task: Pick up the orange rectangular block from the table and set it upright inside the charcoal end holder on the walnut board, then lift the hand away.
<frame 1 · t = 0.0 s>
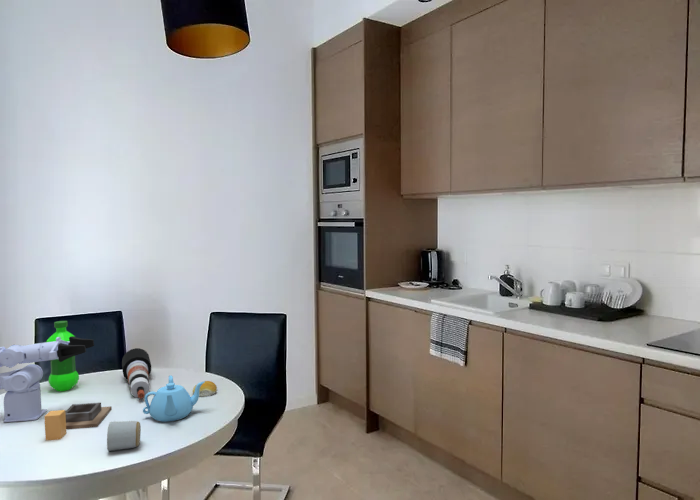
hand: (89, 345, 160), 22 cm above the table, tool horizontal, fingers open, 7 cm apart
teapot: (175, 415, 158), on the table
holder: (82, 419, 156), on the table
plastic bottle: (64, 389, 184), on the table
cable: (138, 388, 185), on the table
bread roll: (205, 393, 178), on the table
ceramic mug: (124, 446, 137), on the table
orange rectangular block: (56, 436, 143), on the table
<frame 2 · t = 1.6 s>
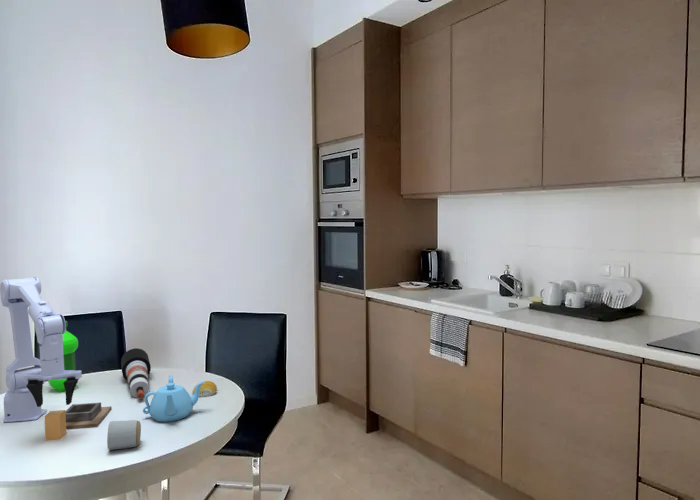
hand: (54, 404, 143), 9 cm above the table, tool pointing down, fingers open, 7 cm apart
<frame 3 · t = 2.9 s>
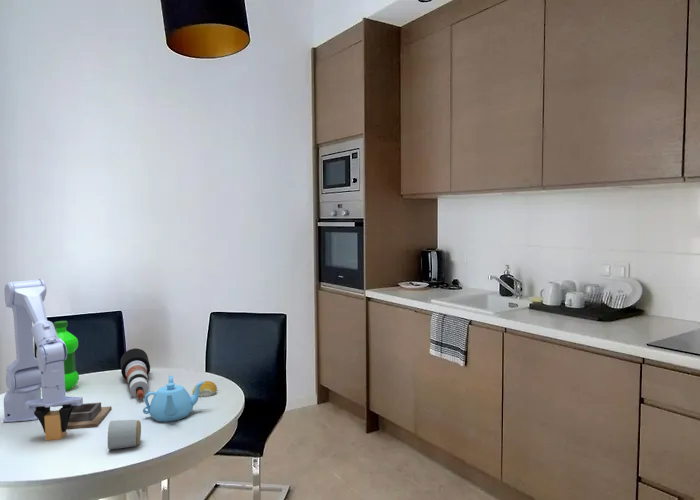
hand: (55, 431, 143), 2 cm above the table, tool pointing down, fingers closed on orange rectangular block, 4 cm apart
orange rectangular block: (56, 436, 143), on the table, touching gripper
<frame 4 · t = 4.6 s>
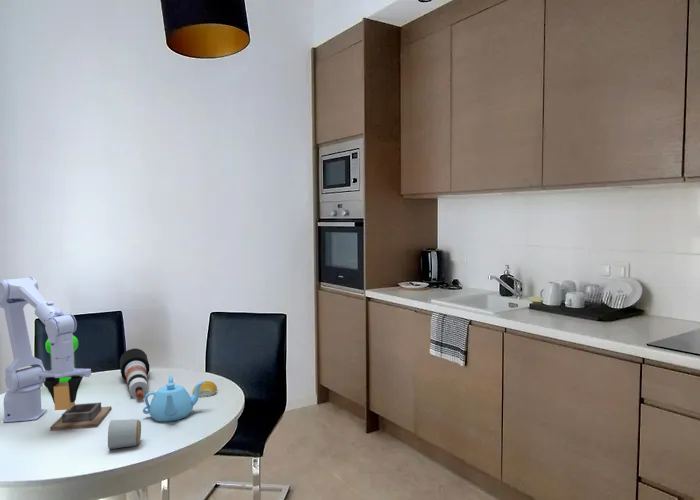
hand: (64, 401, 147), 9 cm above the table, tool pointing down, fingers closed on orange rectangular block, 4 cm apart
orange rectangular block: (65, 407, 147), point 7 cm above the table, touching gripper
when the fingers open (5 cm above the table, at t = 6.2 s): orange rectangular block drops 2 cm, resting on holder.
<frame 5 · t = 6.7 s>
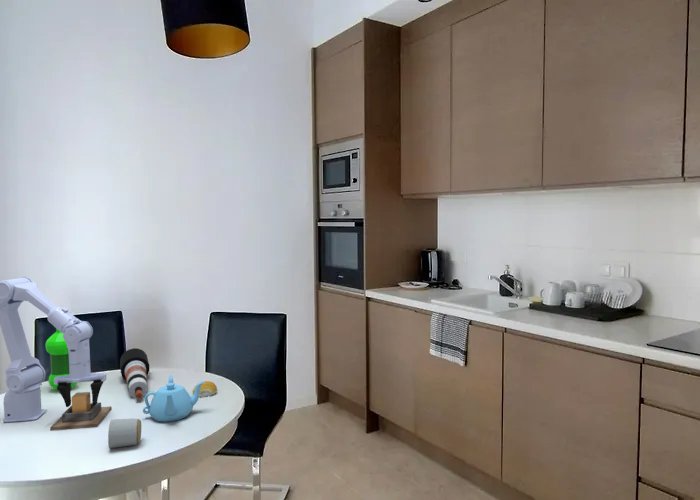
hand: (81, 404, 155), 5 cm above the table, tool pointing down, fingers open, 7 cm apart
orange rectangular block: (82, 416, 155), point 1 cm above the table, touching holder
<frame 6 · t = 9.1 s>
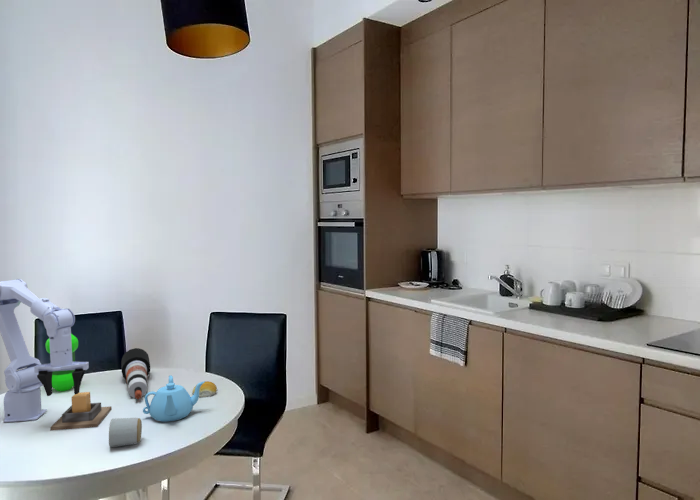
hand: (63, 394, 151), 9 cm above the table, tool pointing down, fingers open, 7 cm apart
at the end: orange rectangular block 0.3 cm off-centre on the holder, point 1.0 cm above the holder's base; orange rectangular block tilted 0°; the gripper is holding nothing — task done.
